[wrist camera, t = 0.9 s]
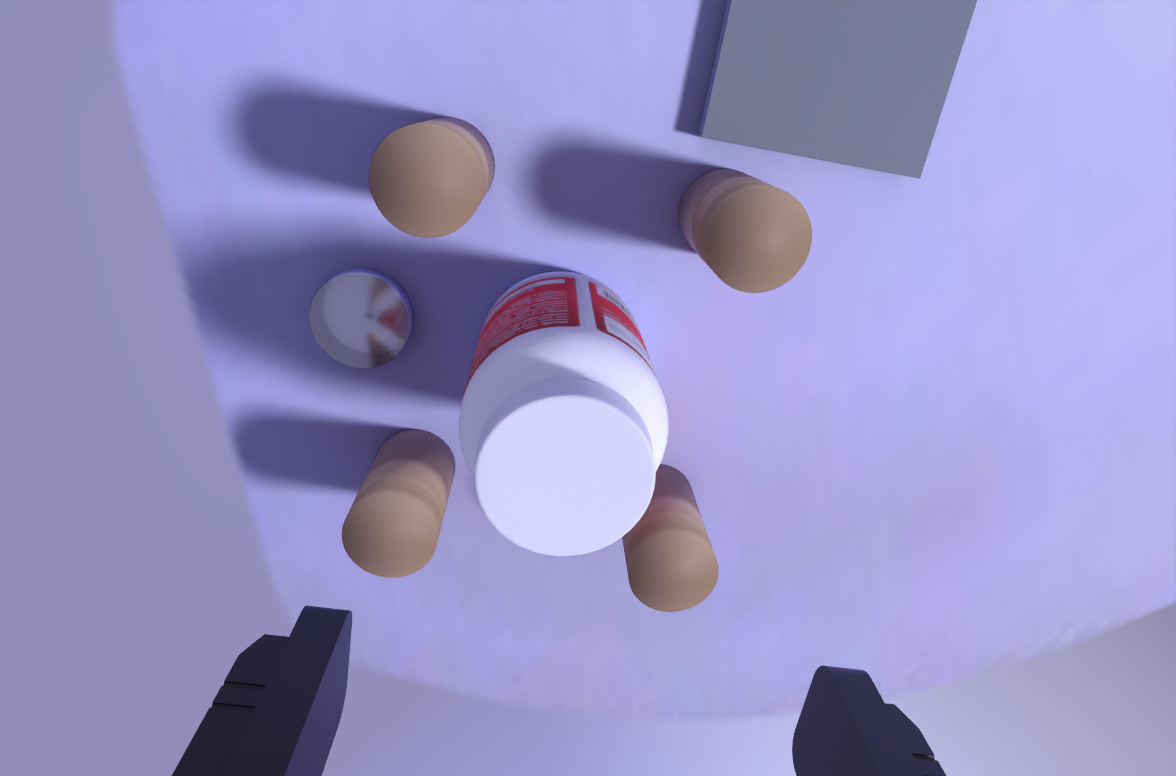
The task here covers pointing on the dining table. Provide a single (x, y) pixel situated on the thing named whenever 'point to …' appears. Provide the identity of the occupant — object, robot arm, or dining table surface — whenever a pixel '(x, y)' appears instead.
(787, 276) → the cylinder
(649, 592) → the cylinder
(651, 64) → the dining table surface
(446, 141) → the cylinder
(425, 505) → the cylinder
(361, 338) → the shiny metal disc
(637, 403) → the pill bottle
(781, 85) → the slate coaster
